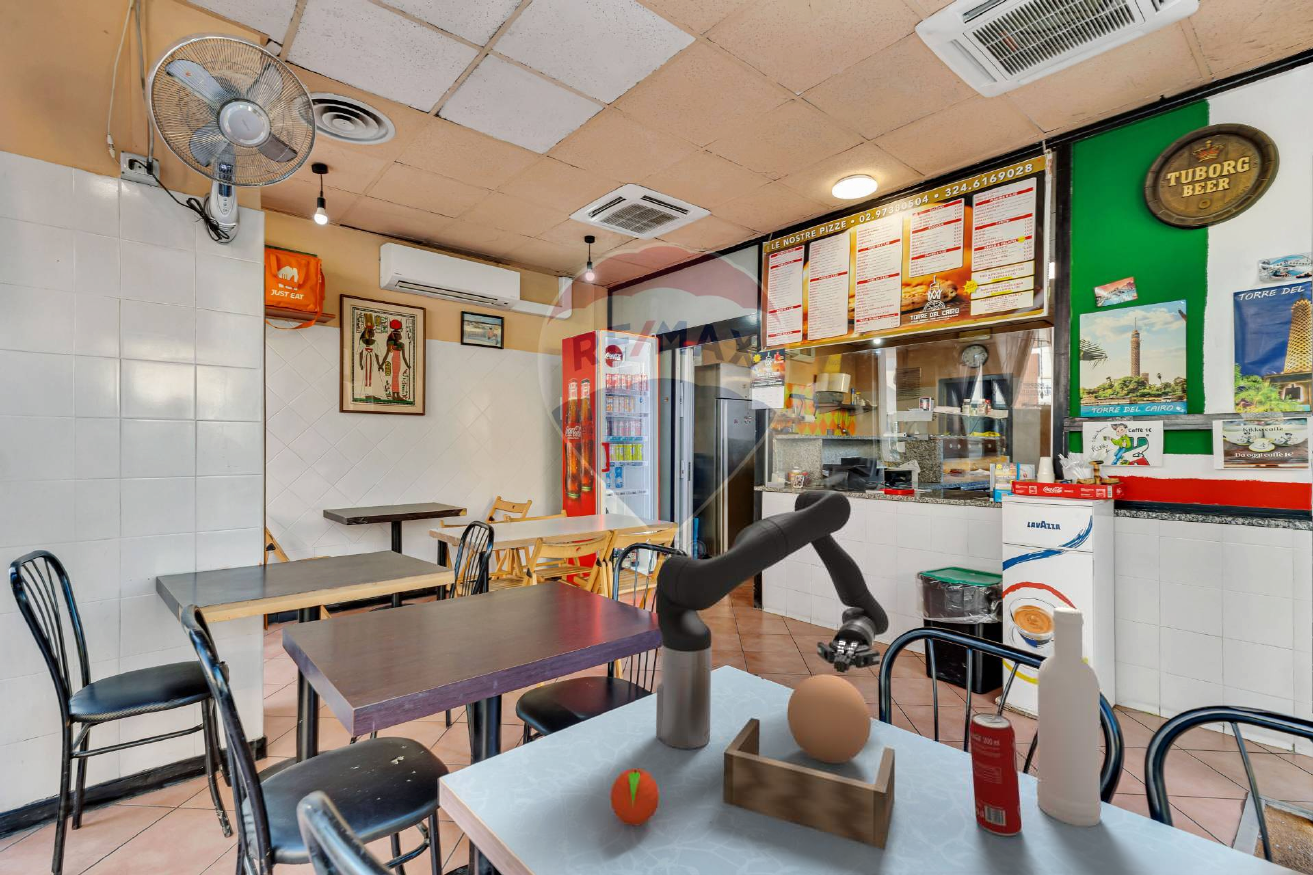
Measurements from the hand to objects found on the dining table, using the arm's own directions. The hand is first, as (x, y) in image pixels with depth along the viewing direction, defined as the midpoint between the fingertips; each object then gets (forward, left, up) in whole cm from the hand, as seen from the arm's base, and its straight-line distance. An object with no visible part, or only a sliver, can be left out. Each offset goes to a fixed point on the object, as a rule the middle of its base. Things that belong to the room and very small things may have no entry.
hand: (840, 666), depth 115 cm
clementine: (-21, -43, -12) cm, 50 cm away
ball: (0, -11, -5) cm, 12 cm away
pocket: (0, -25, -12) cm, 28 cm away
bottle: (+35, -10, -12) cm, 38 cm away
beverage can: (+25, -19, -12) cm, 34 cm away
